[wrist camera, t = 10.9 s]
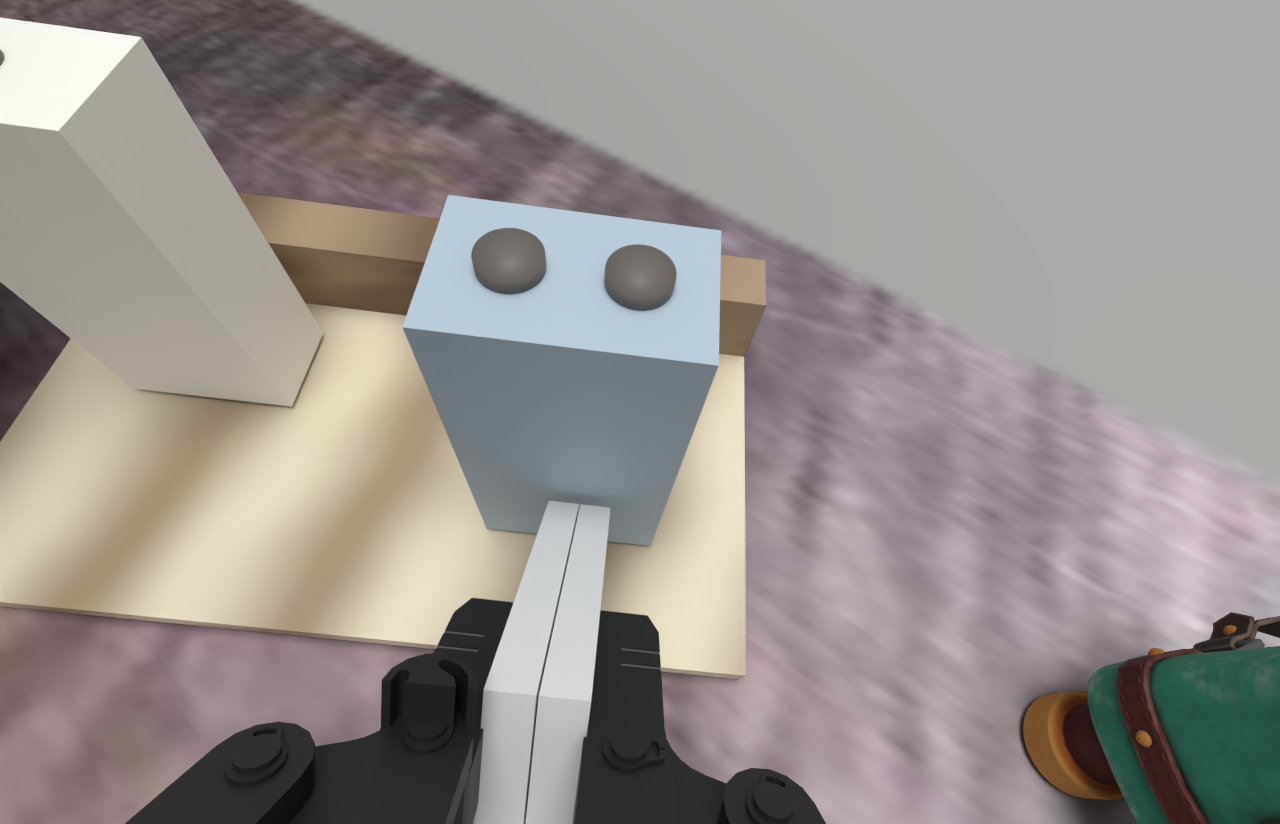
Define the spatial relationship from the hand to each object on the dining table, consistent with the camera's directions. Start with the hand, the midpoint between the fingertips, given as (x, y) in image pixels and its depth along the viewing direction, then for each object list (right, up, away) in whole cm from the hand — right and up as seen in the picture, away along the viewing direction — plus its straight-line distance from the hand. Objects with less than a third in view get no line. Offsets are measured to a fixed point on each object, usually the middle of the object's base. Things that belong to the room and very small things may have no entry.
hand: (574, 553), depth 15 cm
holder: (-6, +3, +5) cm, 9 cm away
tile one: (-12, +6, +5) cm, 14 cm away
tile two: (0, +1, +4) cm, 4 cm away
